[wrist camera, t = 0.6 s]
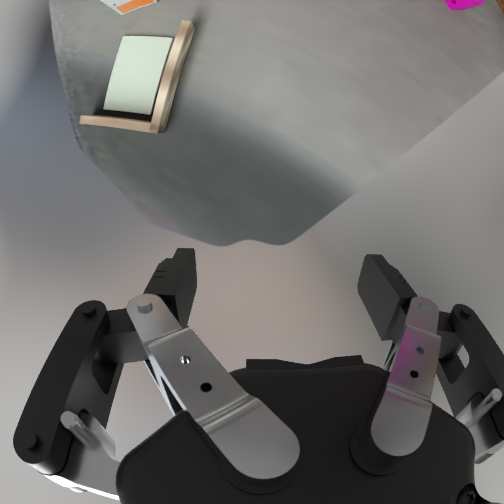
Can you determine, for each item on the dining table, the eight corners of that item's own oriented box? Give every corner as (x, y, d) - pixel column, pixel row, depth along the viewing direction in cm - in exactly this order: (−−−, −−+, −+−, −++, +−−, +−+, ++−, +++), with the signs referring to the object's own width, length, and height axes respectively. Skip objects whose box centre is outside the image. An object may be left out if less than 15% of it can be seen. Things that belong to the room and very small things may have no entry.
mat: (124, 36, 27) (123, 36, 26) (173, 38, 28) (172, 37, 27) (104, 109, 32) (103, 109, 32) (151, 114, 33) (150, 114, 33)
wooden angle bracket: (117, 25, 26) (107, 20, 22) (195, 28, 27) (190, 21, 24) (91, 122, 33) (79, 123, 30) (165, 132, 34) (157, 133, 31)
